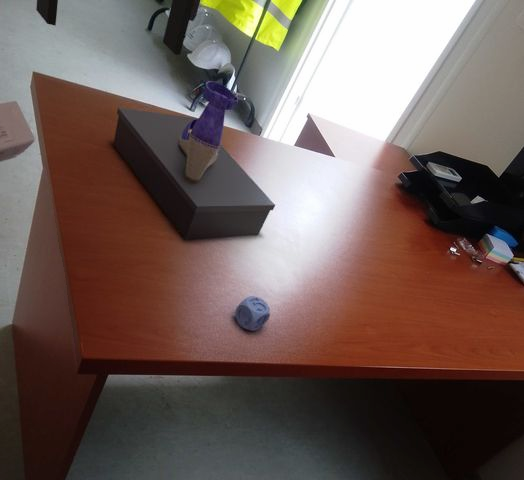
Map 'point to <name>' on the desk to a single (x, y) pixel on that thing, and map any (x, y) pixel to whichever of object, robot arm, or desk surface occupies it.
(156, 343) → the desk surface
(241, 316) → the decorative dice
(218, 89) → the sandal
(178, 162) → the shoebox
